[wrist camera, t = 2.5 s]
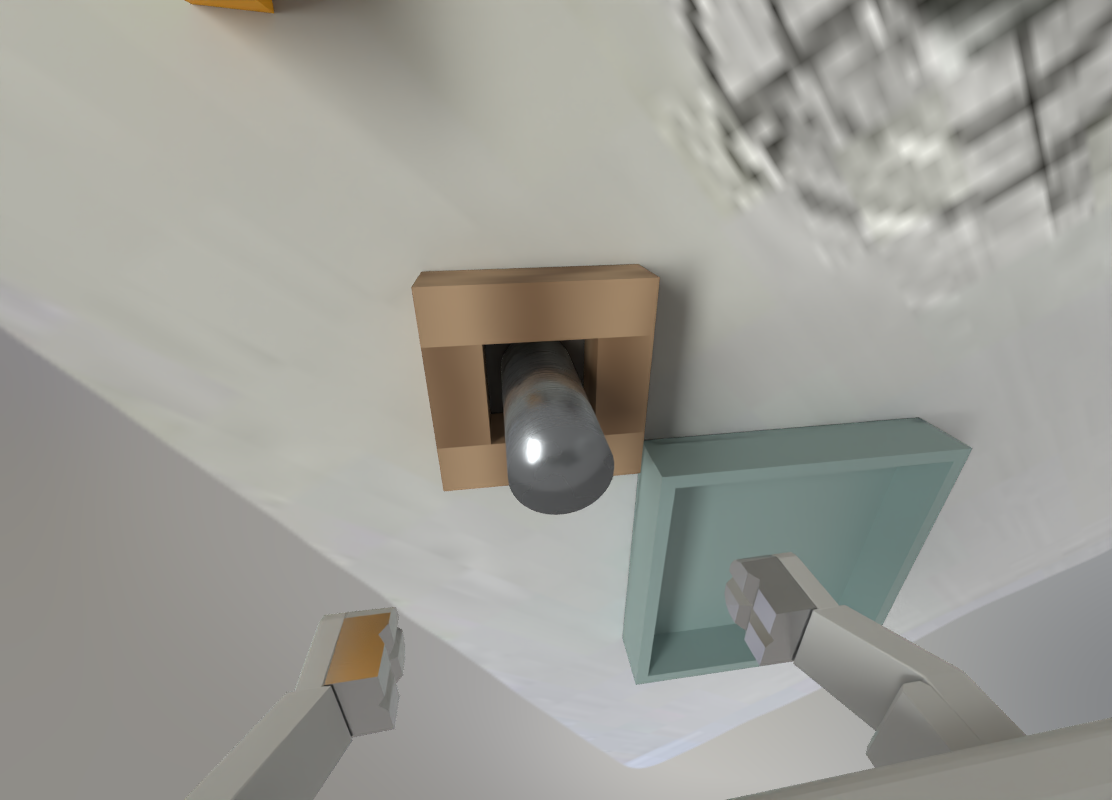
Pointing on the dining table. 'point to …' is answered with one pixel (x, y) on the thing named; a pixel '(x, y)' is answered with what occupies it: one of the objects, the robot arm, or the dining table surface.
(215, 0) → the pipe clamp
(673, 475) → the tray
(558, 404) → the pin
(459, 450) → the pin holder
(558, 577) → the dining table surface
